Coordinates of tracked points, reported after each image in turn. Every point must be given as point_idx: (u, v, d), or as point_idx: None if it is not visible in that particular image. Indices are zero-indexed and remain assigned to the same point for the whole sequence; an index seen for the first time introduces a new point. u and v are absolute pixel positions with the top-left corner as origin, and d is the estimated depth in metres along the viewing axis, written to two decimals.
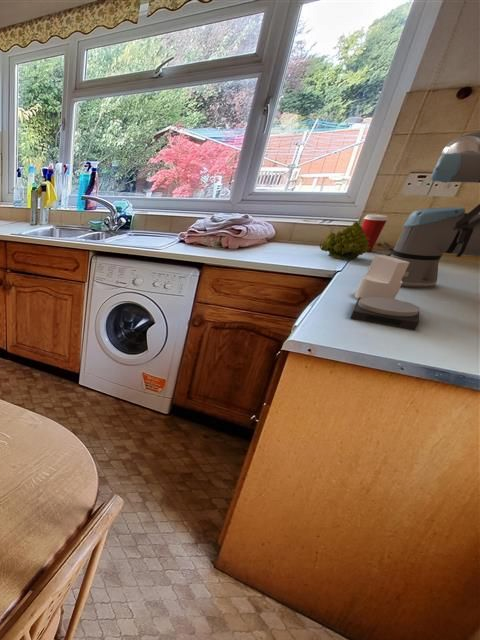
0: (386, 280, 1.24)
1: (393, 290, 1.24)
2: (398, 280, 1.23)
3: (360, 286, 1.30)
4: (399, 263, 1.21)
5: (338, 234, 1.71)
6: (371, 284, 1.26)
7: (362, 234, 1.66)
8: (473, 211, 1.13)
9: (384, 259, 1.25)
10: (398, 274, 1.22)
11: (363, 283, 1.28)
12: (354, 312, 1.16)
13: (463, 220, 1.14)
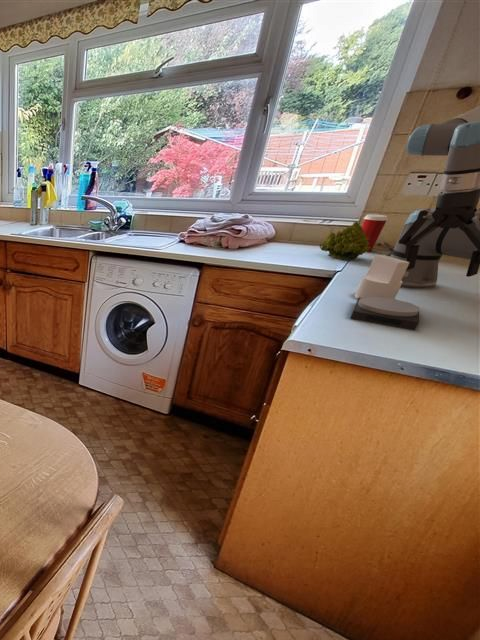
0: (386, 280, 1.24)
1: (393, 290, 1.24)
2: (398, 280, 1.23)
3: (360, 286, 1.30)
4: (399, 263, 1.21)
5: (338, 234, 1.71)
6: (371, 284, 1.26)
7: (362, 234, 1.66)
8: (410, 229, 1.21)
9: (384, 259, 1.25)
10: (398, 274, 1.22)
11: (363, 283, 1.28)
12: (354, 312, 1.16)
13: (403, 238, 1.23)
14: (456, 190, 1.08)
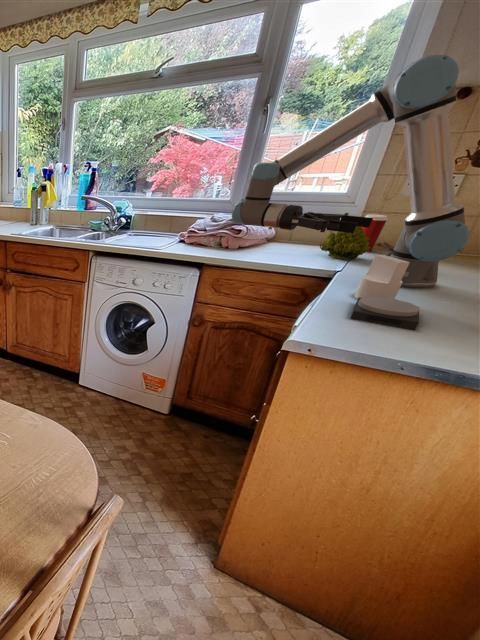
0: (386, 280, 1.24)
1: (393, 290, 1.24)
2: (398, 280, 1.23)
3: (360, 286, 1.30)
4: (399, 263, 1.21)
5: (338, 234, 1.71)
6: (371, 284, 1.26)
7: (362, 234, 1.66)
8: None
9: (384, 259, 1.25)
10: (398, 274, 1.22)
11: (363, 283, 1.28)
12: (354, 312, 1.16)
13: None
14: (277, 227, 1.44)
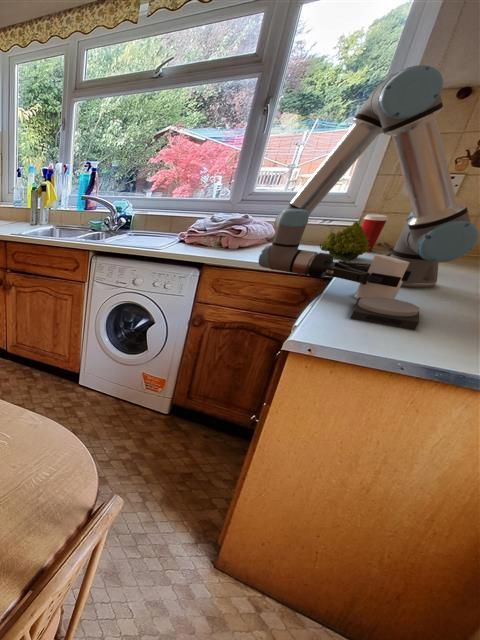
0: None
1: (393, 290, 1.24)
2: None
3: (360, 286, 1.30)
4: (399, 263, 1.21)
5: (338, 234, 1.71)
6: (371, 284, 1.26)
7: (362, 234, 1.66)
8: None
9: (384, 259, 1.25)
10: (398, 274, 1.22)
11: None
12: (354, 312, 1.16)
13: None
14: (306, 274, 1.41)
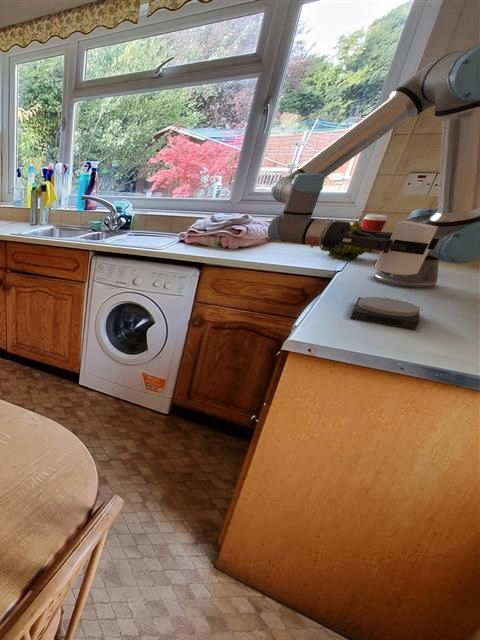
0: None
1: (418, 259, 1.12)
2: None
3: (381, 256, 1.17)
4: (426, 228, 1.08)
5: None
6: (393, 253, 1.14)
7: None
8: None
9: (409, 224, 1.12)
10: (425, 240, 1.09)
11: None
12: (354, 312, 1.16)
13: None
14: (320, 245, 1.28)
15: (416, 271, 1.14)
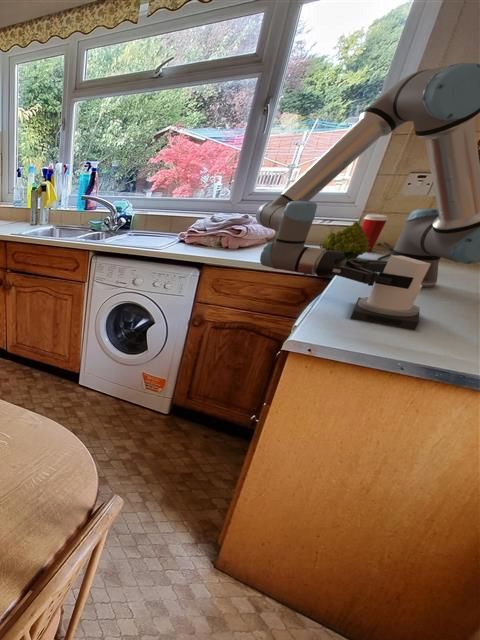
0: None
1: (411, 295, 1.10)
2: (417, 284, 1.09)
3: (373, 290, 1.16)
4: (419, 265, 1.07)
5: (338, 234, 1.71)
6: (386, 288, 1.12)
7: (362, 234, 1.66)
8: None
9: (401, 260, 1.11)
10: (417, 277, 1.08)
11: (377, 287, 1.14)
12: (354, 312, 1.16)
13: None
14: (314, 274, 1.27)
15: (409, 307, 1.12)
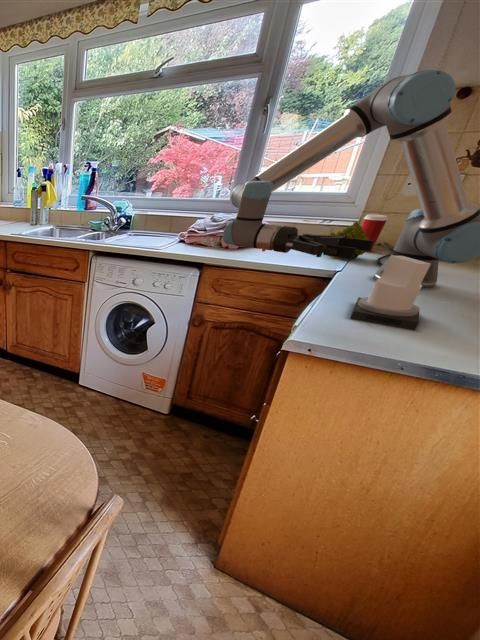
0: (404, 284, 1.10)
1: (411, 295, 1.10)
2: (417, 284, 1.09)
3: (373, 290, 1.16)
4: (419, 265, 1.07)
5: (338, 234, 1.71)
6: (386, 288, 1.12)
7: (362, 234, 1.66)
8: None
9: (401, 260, 1.11)
10: (417, 277, 1.08)
11: (377, 287, 1.14)
12: (354, 312, 1.16)
13: None
14: (271, 249, 1.34)
15: (409, 307, 1.12)
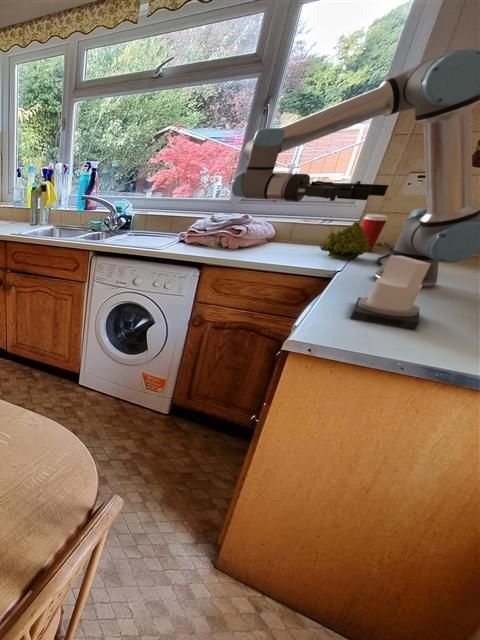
0: (404, 284, 1.10)
1: (411, 295, 1.10)
2: (417, 284, 1.09)
3: (373, 290, 1.16)
4: (419, 265, 1.07)
5: (338, 234, 1.71)
6: (386, 288, 1.12)
7: (362, 234, 1.66)
8: None
9: (401, 260, 1.11)
10: (417, 277, 1.08)
11: (377, 287, 1.14)
12: (354, 312, 1.16)
13: None
14: (282, 199, 1.31)
15: (409, 307, 1.12)
